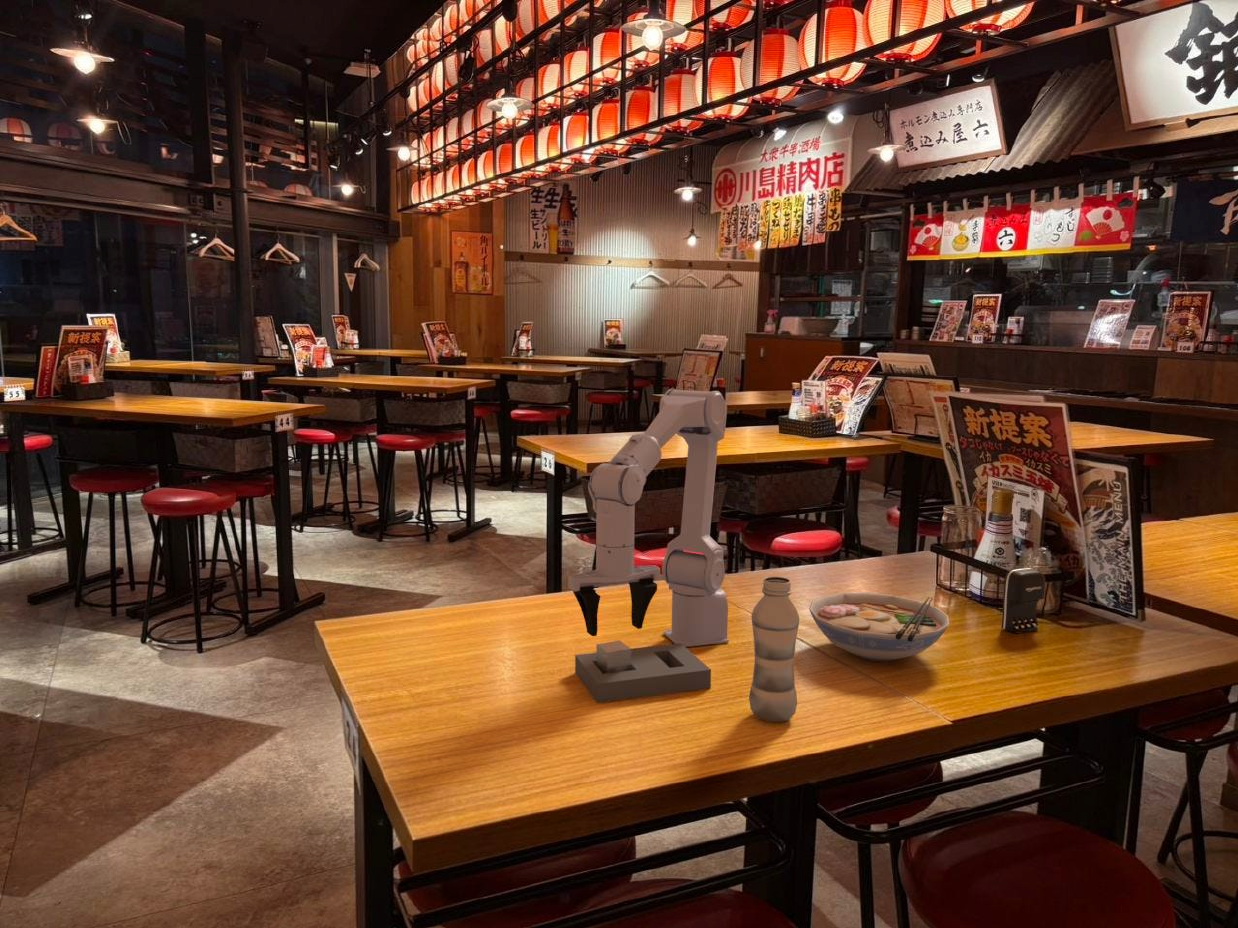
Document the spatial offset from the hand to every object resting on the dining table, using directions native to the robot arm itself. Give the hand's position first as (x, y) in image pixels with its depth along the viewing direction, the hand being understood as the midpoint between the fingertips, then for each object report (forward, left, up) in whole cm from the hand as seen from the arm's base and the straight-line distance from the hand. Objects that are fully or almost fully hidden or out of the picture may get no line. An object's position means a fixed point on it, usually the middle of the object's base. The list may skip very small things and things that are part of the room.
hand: (614, 630), depth 132 cm
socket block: (-4, 0, -9) cm, 10 cm away
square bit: (0, 0, -9) cm, 9 cm away
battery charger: (-79, -1, -9) cm, 80 cm away
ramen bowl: (-46, +1, -9) cm, 47 cm away
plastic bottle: (-17, +18, -9) cm, 27 cm away
